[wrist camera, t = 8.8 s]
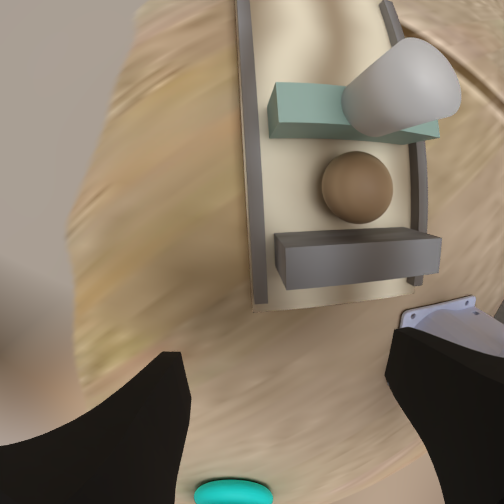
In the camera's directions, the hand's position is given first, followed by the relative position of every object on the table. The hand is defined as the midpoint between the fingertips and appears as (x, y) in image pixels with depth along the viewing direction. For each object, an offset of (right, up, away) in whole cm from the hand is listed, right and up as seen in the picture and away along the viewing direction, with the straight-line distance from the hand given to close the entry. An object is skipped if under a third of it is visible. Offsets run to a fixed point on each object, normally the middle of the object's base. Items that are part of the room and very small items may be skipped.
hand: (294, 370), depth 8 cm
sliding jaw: (+4, +12, +6) cm, 14 cm away
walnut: (+4, +7, +6) cm, 10 cm away
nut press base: (+4, +12, +8) cm, 15 cm away
